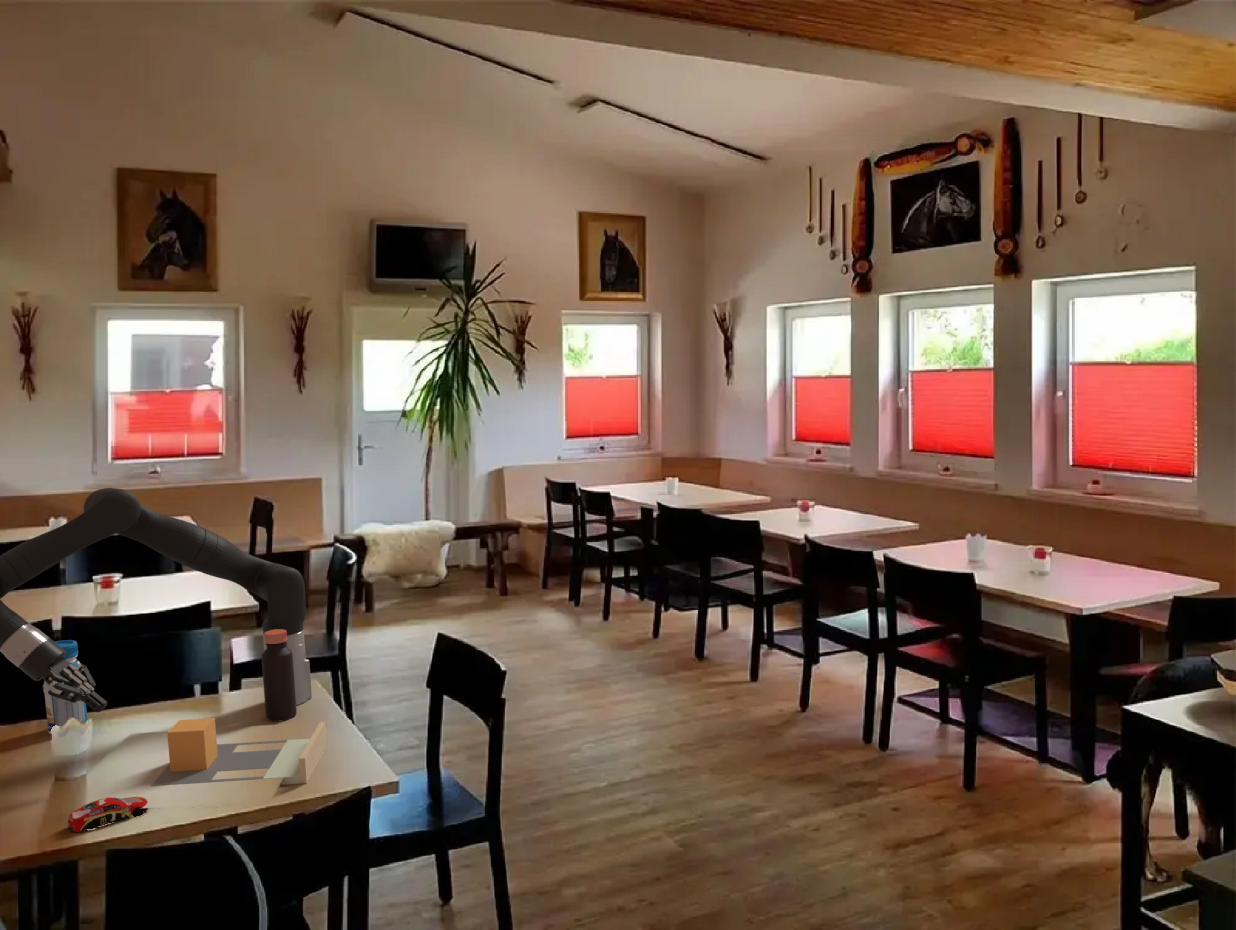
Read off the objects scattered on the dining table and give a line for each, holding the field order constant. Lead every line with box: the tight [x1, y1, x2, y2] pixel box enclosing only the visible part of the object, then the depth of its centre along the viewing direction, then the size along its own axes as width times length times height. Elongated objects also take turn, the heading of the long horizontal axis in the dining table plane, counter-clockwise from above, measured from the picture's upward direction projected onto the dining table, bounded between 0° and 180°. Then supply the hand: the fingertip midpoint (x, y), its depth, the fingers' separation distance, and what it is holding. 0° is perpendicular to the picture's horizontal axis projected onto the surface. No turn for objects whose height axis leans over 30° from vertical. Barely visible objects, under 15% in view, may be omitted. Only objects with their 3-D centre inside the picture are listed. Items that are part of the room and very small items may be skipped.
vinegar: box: [261, 629, 298, 722], centre depth 235 cm, size 7×7×20 cm
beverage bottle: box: [42, 639, 89, 734], centre depth 231 cm, size 8×8×20 cm
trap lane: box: [150, 721, 328, 787], centre depth 206 cm, size 29×20×5 cm
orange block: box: [166, 717, 218, 772], centre depth 205 cm, size 7×7×8 cm
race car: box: [67, 796, 149, 832], centre depth 185 cm, size 13×5×4 cm, turn 129°
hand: (103, 708), depth 203 cm, fingers closed
